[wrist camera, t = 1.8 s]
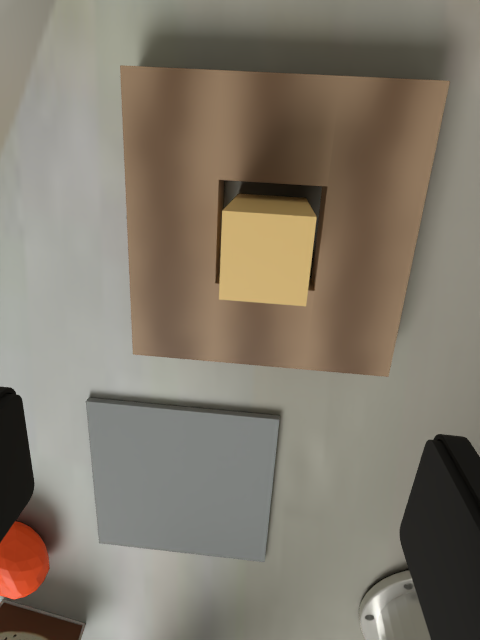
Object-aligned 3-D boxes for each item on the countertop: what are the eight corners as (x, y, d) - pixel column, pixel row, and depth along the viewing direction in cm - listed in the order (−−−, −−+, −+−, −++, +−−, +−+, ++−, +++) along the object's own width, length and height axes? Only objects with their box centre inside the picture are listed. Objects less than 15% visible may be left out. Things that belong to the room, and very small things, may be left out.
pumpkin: (36, 567, 45) (-6, 633, 39) (-22, 519, 43) (-76, 581, 38) (77, 548, 42) (37, 616, 36) (16, 495, 40) (-35, 559, 35)
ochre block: (305, 197, 28) (316, 216, 20) (298, 263, 30) (306, 306, 22) (238, 193, 29) (222, 210, 20) (235, 258, 30) (218, 299, 22)
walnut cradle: (431, 88, 26) (450, 80, 23) (378, 357, 32) (388, 376, 29) (136, 74, 27) (120, 65, 24) (145, 337, 33) (132, 354, 30)
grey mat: (279, 415, 35) (279, 419, 34) (264, 556, 41) (264, 562, 40) (88, 397, 36) (85, 401, 35) (101, 537, 42) (99, 543, 41)
